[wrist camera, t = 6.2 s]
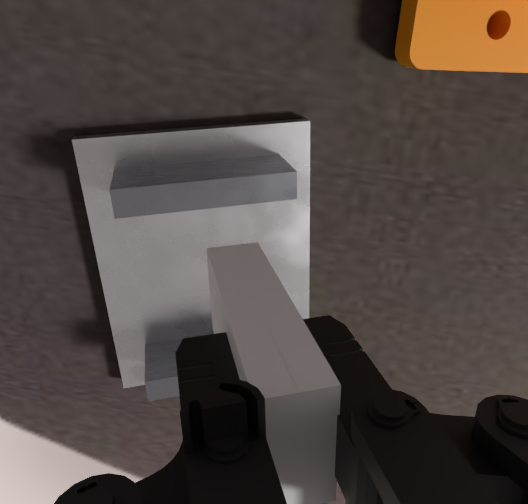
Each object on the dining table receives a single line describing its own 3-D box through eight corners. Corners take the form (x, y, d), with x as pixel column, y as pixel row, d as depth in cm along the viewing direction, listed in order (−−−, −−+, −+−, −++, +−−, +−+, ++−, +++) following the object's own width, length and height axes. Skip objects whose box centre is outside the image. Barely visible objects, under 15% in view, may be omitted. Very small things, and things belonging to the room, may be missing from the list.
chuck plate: (74, 136, 28) (60, 156, 23) (305, 118, 30) (332, 133, 26) (124, 379, 36) (121, 429, 31) (305, 349, 38) (325, 391, 34)
